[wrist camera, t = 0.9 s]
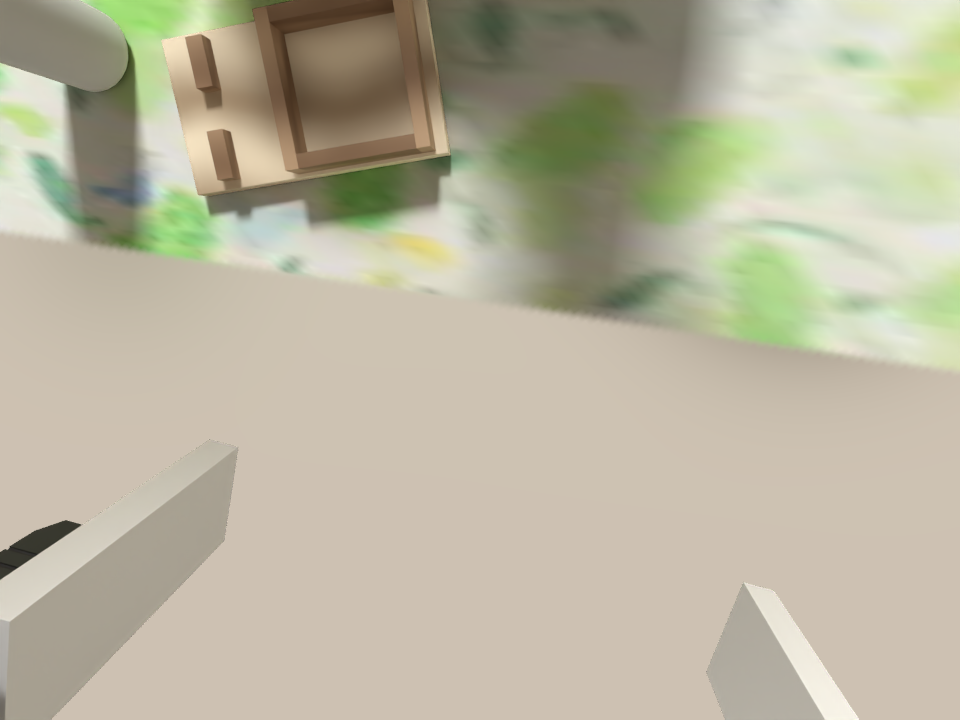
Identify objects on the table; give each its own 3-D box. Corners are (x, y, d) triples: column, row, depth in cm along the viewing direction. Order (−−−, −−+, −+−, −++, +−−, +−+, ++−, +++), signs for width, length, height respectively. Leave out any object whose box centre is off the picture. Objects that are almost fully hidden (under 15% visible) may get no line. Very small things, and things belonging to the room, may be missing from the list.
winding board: (173, 46, 36) (139, 28, 32) (426, -5, 34) (416, -30, 31) (208, 196, 37) (179, 192, 34) (450, 155, 35) (442, 147, 32)
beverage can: (94, 110, 37) (-109, 51, 25) (45, 42, 36) (-186, -51, 24) (149, 63, 36) (-35, -20, 24) (100, -7, 35) (-113, -128, 24)
